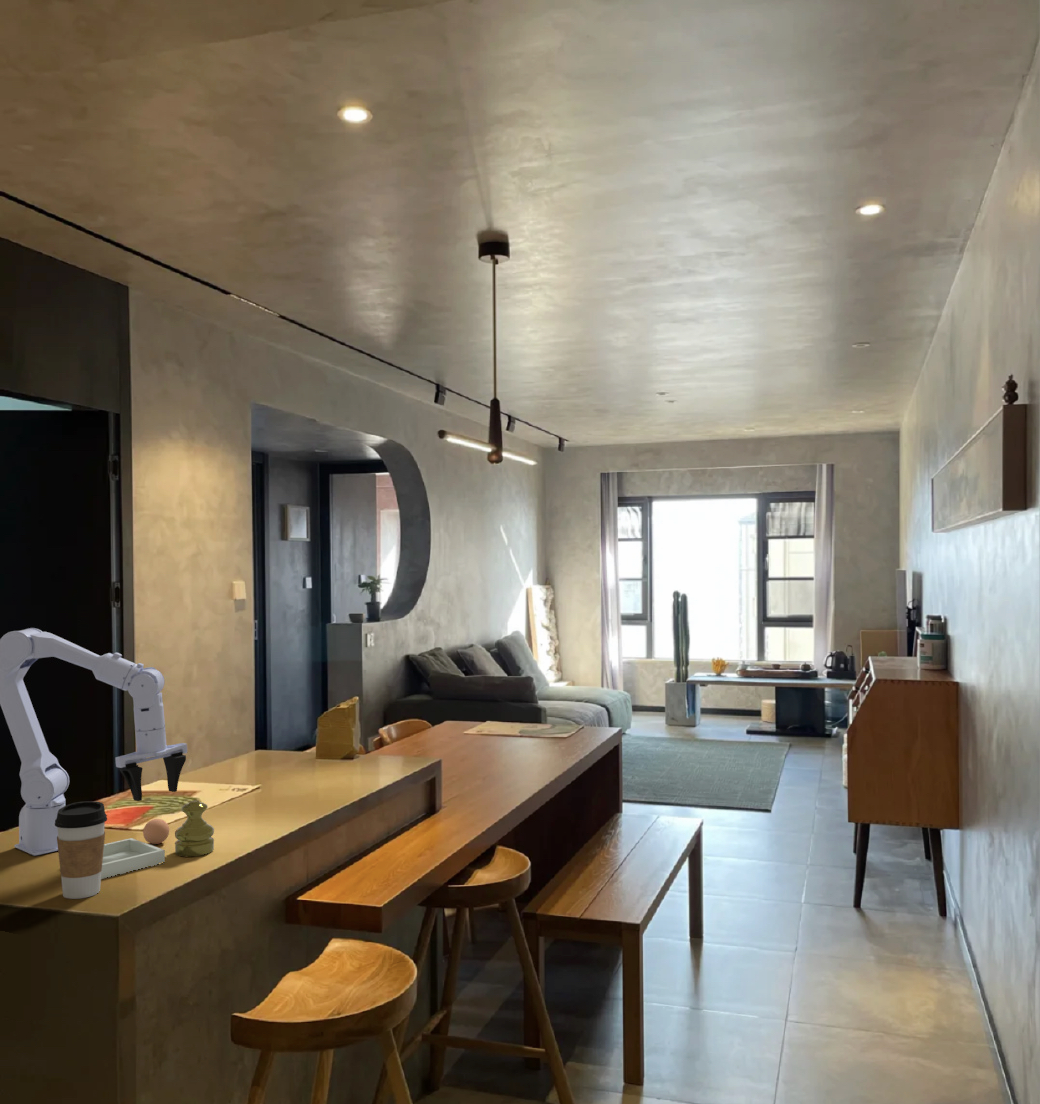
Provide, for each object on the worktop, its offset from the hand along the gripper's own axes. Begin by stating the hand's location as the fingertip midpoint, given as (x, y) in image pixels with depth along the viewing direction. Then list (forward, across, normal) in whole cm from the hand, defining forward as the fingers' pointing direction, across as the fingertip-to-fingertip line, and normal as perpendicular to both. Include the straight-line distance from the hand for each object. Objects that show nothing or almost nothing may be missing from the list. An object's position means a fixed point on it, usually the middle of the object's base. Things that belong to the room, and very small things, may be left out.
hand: (155, 795), depth 204 cm
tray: (+10, -12, -6) cm, 16 cm away
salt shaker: (+11, +2, -10) cm, 15 cm away
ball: (+10, 0, +1) cm, 10 cm away
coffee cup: (+10, -24, -17) cm, 31 cm away
